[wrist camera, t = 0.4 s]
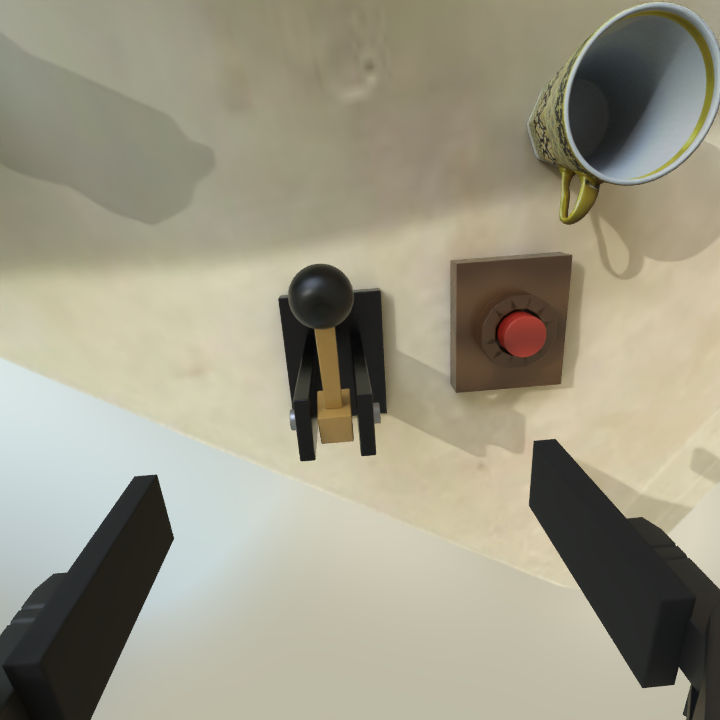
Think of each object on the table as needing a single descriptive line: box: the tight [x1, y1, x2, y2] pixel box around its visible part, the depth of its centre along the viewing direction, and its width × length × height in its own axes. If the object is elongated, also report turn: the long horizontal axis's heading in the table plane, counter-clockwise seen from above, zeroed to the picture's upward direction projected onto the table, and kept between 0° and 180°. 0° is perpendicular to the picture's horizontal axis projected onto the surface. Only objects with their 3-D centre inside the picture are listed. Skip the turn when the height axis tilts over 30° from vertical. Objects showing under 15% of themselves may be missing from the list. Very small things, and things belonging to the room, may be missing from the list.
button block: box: [451, 252, 572, 393], centre depth 41 cm, size 12×10×4 cm
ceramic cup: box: [527, 2, 720, 225], centre depth 33 cm, size 13×10×10 cm
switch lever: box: [288, 264, 354, 444], centre depth 27 cm, size 13×3×3 cm, turn 4°
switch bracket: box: [278, 288, 387, 461], centre depth 36 cm, size 12×9×15 cm
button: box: [497, 311, 546, 357], centre depth 39 cm, size 4×4×2 cm
